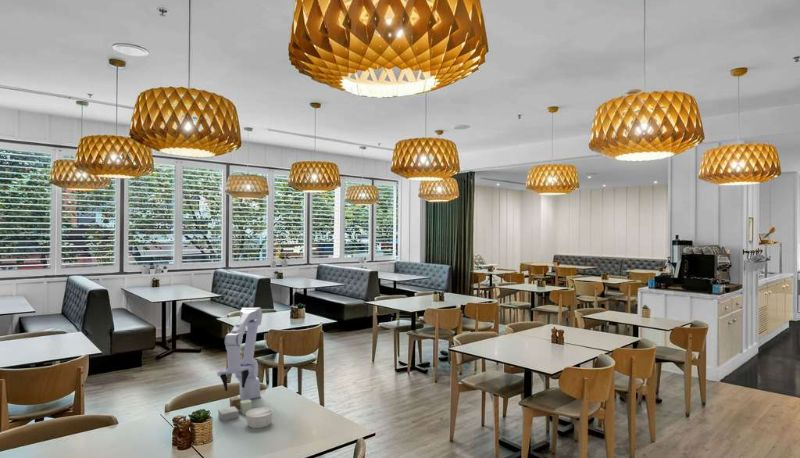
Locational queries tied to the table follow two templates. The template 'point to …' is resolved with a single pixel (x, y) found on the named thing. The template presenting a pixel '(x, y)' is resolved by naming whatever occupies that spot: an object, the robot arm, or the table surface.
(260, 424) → the ramekin
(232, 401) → the walnut block
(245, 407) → the sage block
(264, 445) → the table surface
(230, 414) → the plinth block
